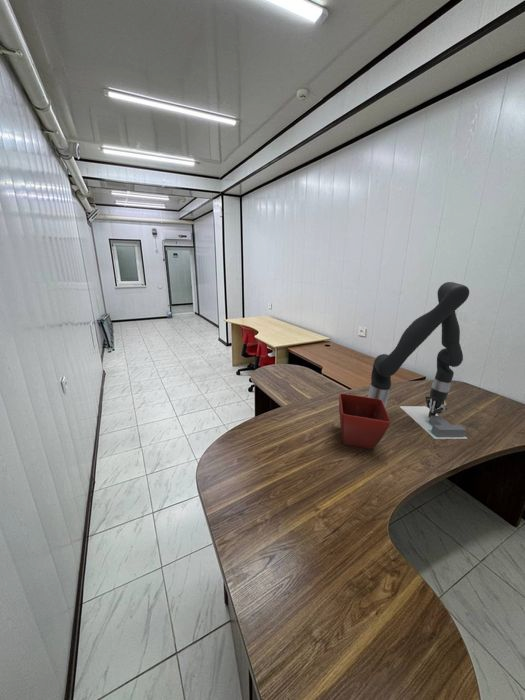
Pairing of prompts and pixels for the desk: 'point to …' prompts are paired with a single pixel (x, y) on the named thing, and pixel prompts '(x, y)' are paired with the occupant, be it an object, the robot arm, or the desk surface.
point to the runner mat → (423, 418)
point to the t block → (445, 428)
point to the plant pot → (362, 420)
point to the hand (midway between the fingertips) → (431, 417)
